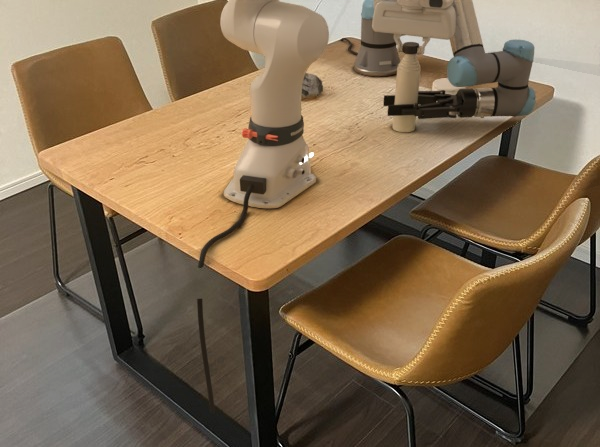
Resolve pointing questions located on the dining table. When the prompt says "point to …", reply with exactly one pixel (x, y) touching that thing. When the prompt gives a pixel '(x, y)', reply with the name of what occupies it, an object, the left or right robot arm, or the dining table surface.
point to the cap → (410, 47)
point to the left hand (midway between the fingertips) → (410, 52)
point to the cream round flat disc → (445, 86)
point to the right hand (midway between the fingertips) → (386, 105)
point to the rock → (311, 86)
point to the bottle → (406, 91)
